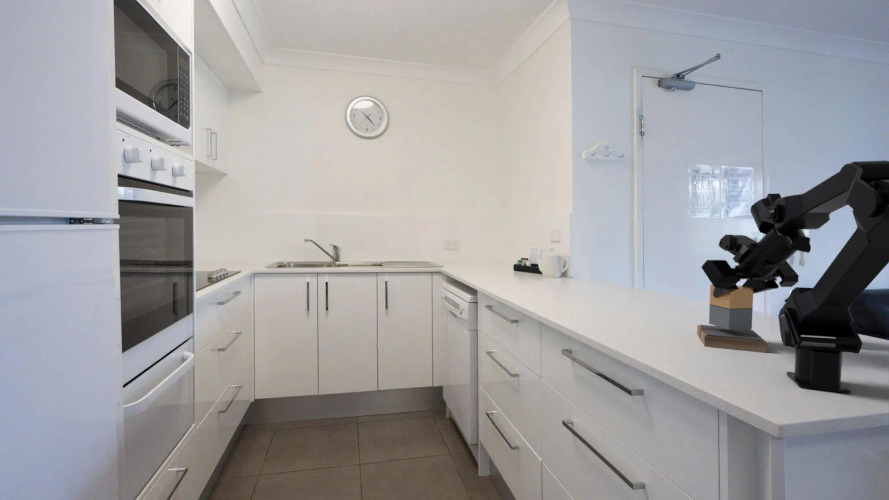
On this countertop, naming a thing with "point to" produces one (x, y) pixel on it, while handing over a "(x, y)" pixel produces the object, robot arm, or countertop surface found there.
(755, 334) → the walnut stand
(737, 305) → the tan and grey block
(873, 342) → the countertop surface
